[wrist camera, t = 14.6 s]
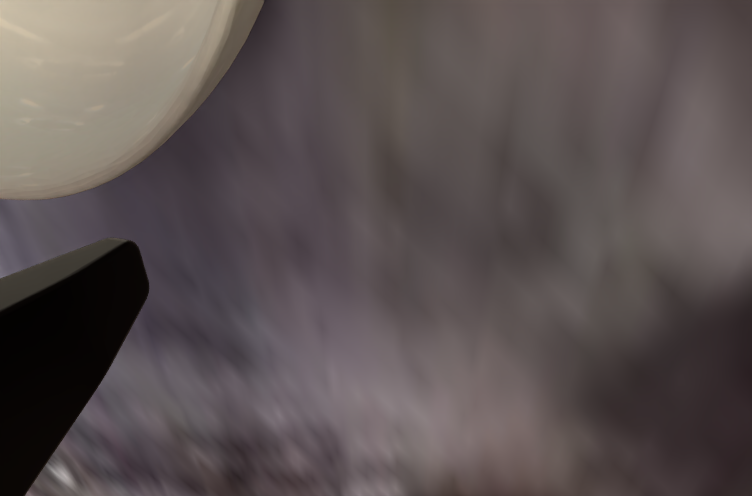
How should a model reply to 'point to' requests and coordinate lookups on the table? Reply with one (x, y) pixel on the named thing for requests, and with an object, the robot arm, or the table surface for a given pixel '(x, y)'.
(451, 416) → the table surface
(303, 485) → the table surface
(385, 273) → the table surface
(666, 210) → the table surface
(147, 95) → the serving bowl
